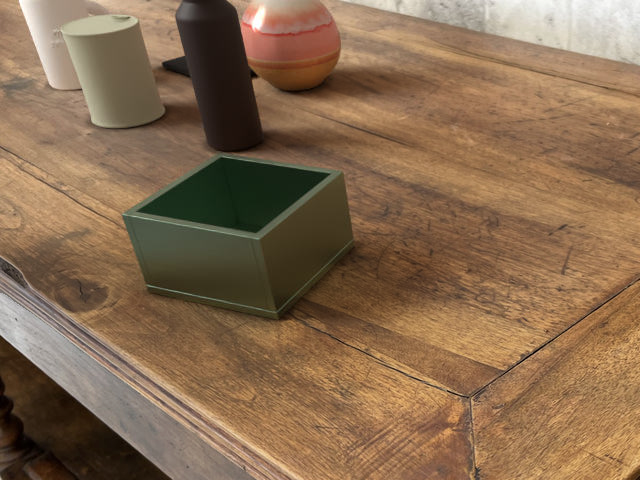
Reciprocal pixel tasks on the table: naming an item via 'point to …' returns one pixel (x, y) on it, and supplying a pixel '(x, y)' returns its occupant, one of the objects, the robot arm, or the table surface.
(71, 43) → the can
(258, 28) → the vase
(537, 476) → the table surface
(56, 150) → the table surface
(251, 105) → the vinegar
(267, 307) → the green open box
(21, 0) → the mug
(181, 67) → the smartphone
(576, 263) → the table surface
